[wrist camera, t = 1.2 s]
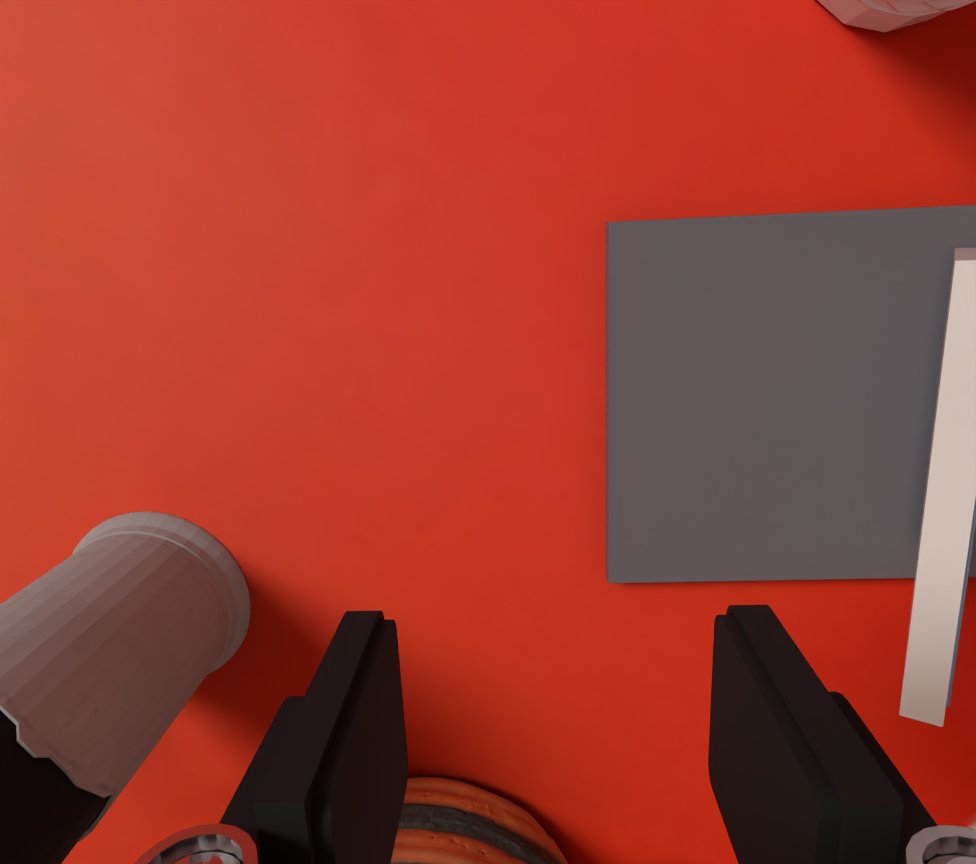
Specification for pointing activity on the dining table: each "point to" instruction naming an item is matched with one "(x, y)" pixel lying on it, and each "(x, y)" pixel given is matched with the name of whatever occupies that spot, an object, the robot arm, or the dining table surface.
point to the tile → (945, 511)
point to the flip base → (774, 392)
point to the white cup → (888, 12)
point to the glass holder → (105, 670)
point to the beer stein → (467, 827)
